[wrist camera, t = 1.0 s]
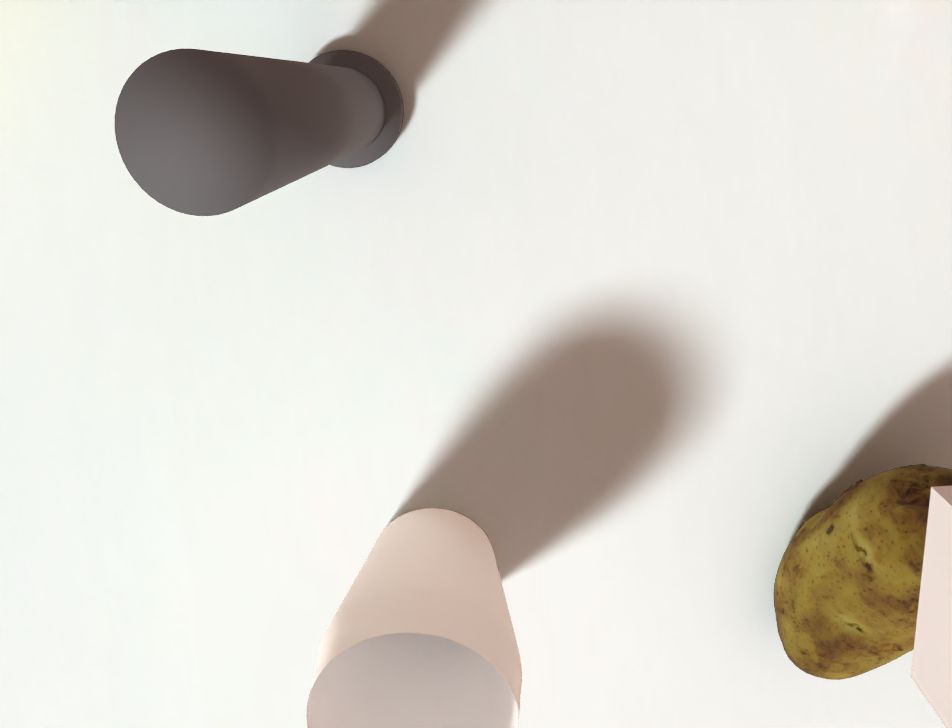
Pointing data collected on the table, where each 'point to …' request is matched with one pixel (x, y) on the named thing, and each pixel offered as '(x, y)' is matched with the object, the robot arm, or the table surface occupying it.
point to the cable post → (250, 123)
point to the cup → (421, 635)
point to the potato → (857, 575)
